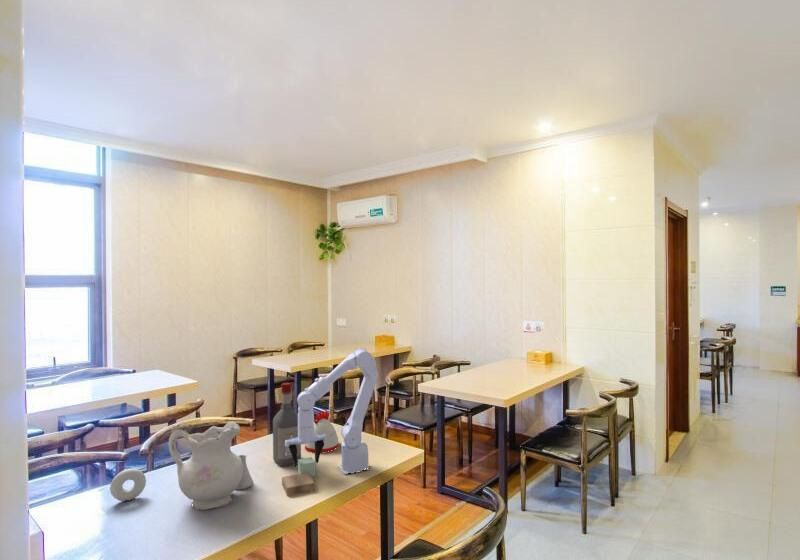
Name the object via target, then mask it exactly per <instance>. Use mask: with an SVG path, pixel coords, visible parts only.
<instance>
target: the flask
mask: <svg viewBox="0 0 800 560" xmlns="http://www.w3.org/2000/svg"><path fill="white" fill-rule="evenodd" d="M238 456H239V457H240V458H241V460H242V463H243V476H242V479H241V481H240V483H239V485H238V486H237V488H236V489H235V491H236V490H237V491H238V490H246V489H249V487H252V486H253V484H254V480H253V478H252V476H251V473H250V470H249V468H248V464H247V454H239V455H238Z"/></svg>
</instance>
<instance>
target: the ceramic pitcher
mask: <svg viewBox="0 0 800 560" xmlns="http://www.w3.org/2000/svg"><path fill="white" fill-rule="evenodd" d="M186 428H187V426H186V425H183V426H182V425H181V426H175V427H174V428H173V430H172V433H171V434H170V436H169V438H168V451H169V454H170V456H171V458H172V461H173V462H174V463H175V464H176V466H177V467H176V468H177V479H178V486H179V489H180V491H181V492H182V494H184V496H185V497H186V498H188V499H189V500H192V501H193V502H192V501H191V505H192V504H193V507H192V508H194V509H196V508H197V509H196V510H199V509H200V510H199V511H201V510H202V511H203V510H209V509H215V508H219V507H225V506H227V505H229V504H231V503H232V502H233V499H232V496H231V494H232V493H234V491H236V488H237V486H238V485H239V483H240V481H241V479H242V476H243V463H242V460H241V458H240V457H239V455H237V454H236V453H234V452H233V451H232V449H231V442H232V440H233V439H234V438H235V437H236V436H238V435H241V432H242V431H241V429H242V428H241V426H240V425H239V424H238V423H237V422H236V421H233V420H232V421H228V422H227V423H226V424H225V425H224V426H223V427H221V426H220V427H219V426H215V425H213V426H211V427H209V428H207V430H205V431H204V432H203V433H201V432H195V433H191V434H189V433H188V430H187V429H186ZM179 438H184V439H185V440H186V441H187V442H188V443H189V445H190V448H191V456H190V458H188V459H187V460H186V462H184V463H183V460H182V457H181V455H180V452H179V451H178V449H177V440H178V439H179Z"/></svg>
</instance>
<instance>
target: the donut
mask: <svg viewBox="0 0 800 560" xmlns="http://www.w3.org/2000/svg"><path fill="white" fill-rule="evenodd" d="M127 481H132V482H133V483H134V484H133V486H132V487H131V488H129V489H125V488H123V487H124V486H123V485H124V483H125V482H127ZM146 483H147V478H146V475H145V473H144V472H143V471H141V470H140V469H137V468H128V469H124V470H121V471H120V472H119V473H117V474H116V475H115V476H114V477H113V478H112V481H111V483H110V486H109V487H110V488H109V491H110V494H111V496H112V497H113V498H114V499H115V500H117V501H120V502H124V501H123V500H129V499H132V500H134V499H136V498H137V497H139V496H140V495H141V494H142V493H143V492H144V489H145V487H146ZM135 497H136V498H135ZM133 498H134V499H133ZM129 501H130V500H129Z"/></svg>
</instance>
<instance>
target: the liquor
mask: <svg viewBox="0 0 800 560" xmlns="http://www.w3.org/2000/svg"><path fill="white" fill-rule="evenodd" d="M280 391H281V406H280V410H278V411H277V413H276V415H275V416H274V417H273V418H272V446H273V447H272V448H273V449H272V453H273V454H272V455H273V457H272V459H273V461H274V463H275V464H276V465H277V466H278V467H288V466H289V467H290V466H292V465H293V466H294V461H293V457H292V454H291V452H290V449H289V447H286V446H285V440H289V439H293V438H296V437H298V412H296V411H295V410H294V409H293V406H292V383H291V382H283V383H281V389H280ZM296 448H297V464H298V459H302V444H300V445H296Z"/></svg>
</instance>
